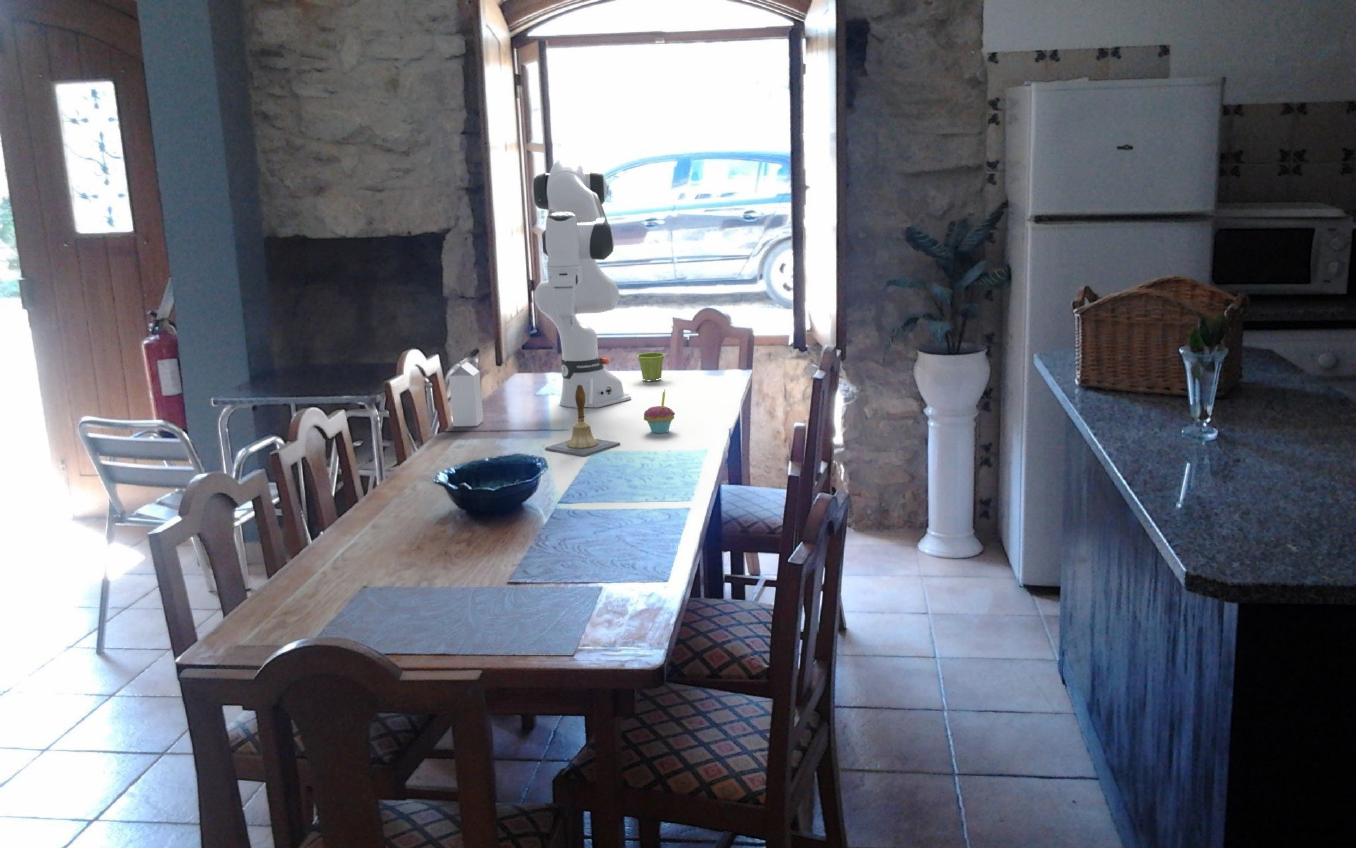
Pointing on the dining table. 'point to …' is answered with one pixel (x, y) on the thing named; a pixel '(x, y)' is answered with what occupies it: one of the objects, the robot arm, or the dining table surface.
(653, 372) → the plant pot
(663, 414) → the cupcake
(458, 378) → the milk carton
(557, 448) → the plate
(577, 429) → the hand bell
